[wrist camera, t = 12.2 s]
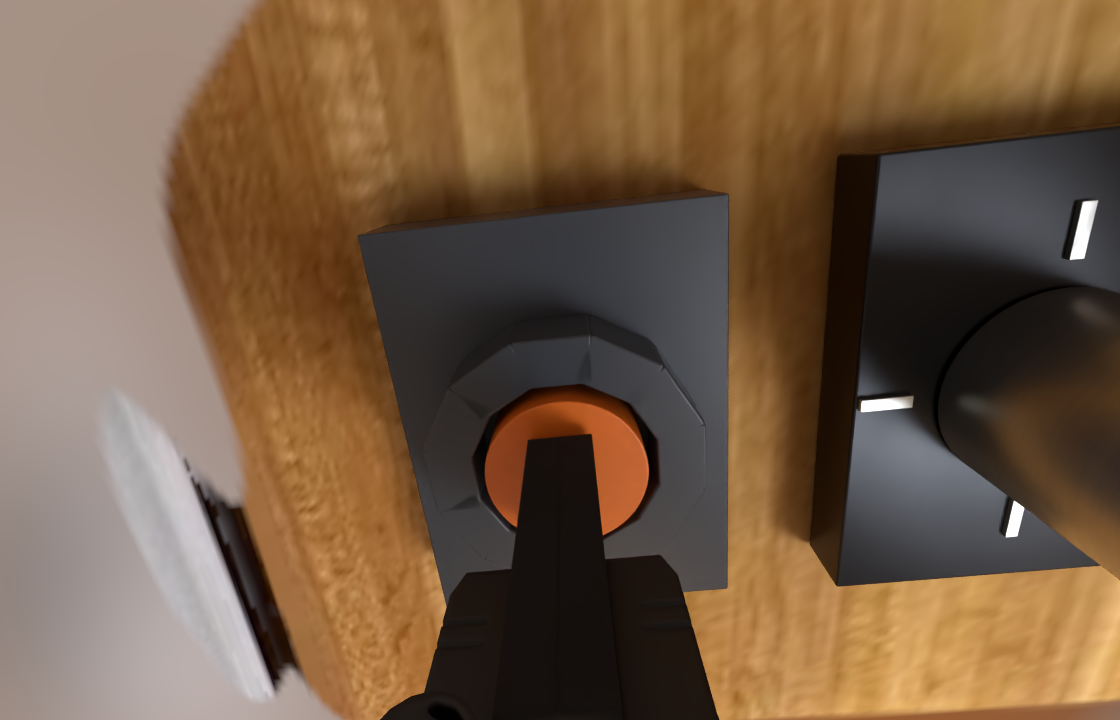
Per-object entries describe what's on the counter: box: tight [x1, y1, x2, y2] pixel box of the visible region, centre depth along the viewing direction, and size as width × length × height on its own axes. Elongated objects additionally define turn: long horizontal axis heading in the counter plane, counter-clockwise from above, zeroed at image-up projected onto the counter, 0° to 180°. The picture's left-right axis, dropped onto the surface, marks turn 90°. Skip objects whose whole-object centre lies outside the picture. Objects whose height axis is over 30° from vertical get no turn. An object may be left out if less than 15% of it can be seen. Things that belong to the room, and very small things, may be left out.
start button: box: [485, 384, 649, 535], centre depth 14 cm, size 4×4×2 cm
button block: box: [358, 189, 729, 606], centre depth 15 cm, size 12×9×4 cm
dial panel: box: [810, 122, 1120, 586], centre depth 15 cm, size 13×10×2 cm
